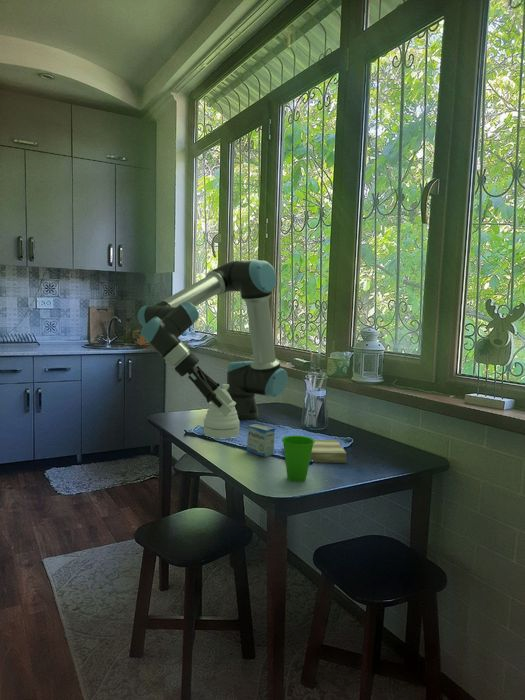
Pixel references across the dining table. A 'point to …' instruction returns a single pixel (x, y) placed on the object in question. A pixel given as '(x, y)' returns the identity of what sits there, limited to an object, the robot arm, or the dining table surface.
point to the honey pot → (221, 420)
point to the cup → (297, 456)
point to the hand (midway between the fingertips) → (229, 408)
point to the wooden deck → (327, 451)
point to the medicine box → (260, 440)
